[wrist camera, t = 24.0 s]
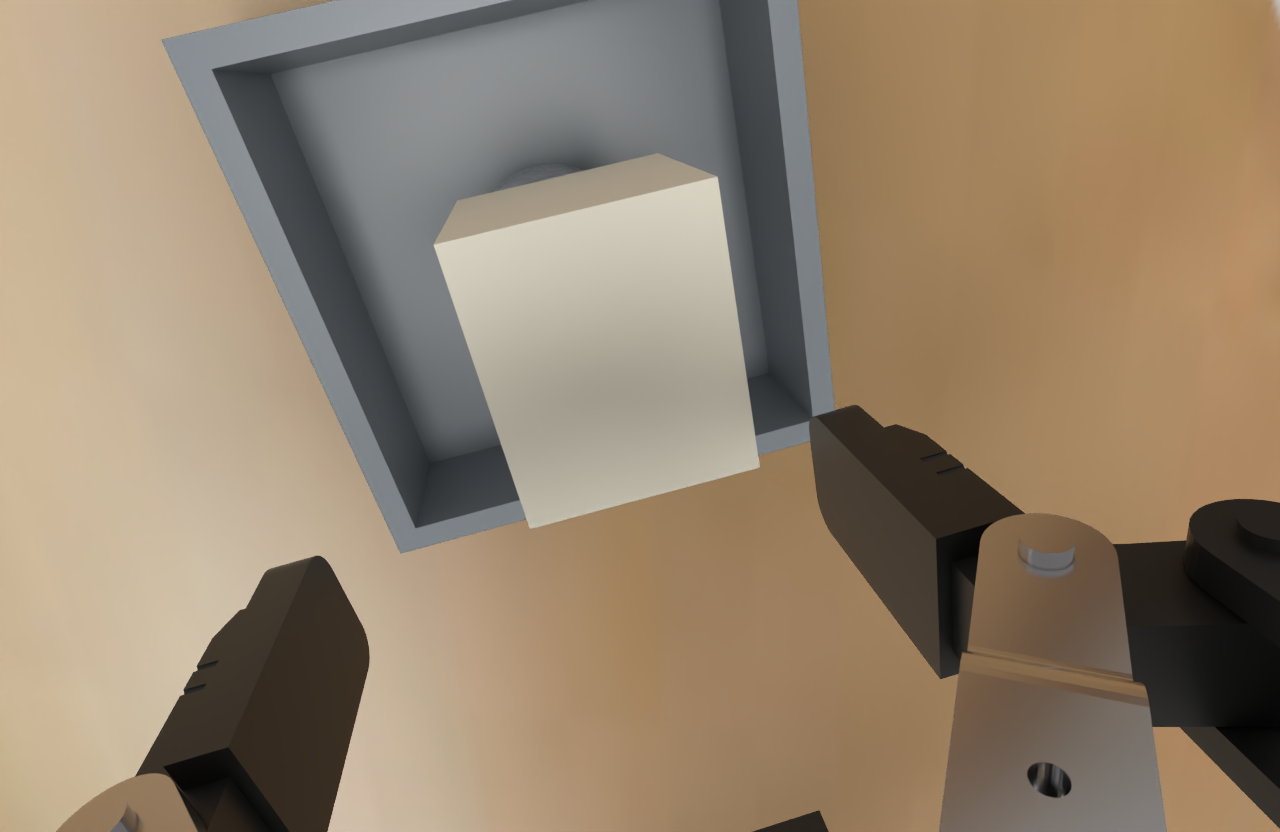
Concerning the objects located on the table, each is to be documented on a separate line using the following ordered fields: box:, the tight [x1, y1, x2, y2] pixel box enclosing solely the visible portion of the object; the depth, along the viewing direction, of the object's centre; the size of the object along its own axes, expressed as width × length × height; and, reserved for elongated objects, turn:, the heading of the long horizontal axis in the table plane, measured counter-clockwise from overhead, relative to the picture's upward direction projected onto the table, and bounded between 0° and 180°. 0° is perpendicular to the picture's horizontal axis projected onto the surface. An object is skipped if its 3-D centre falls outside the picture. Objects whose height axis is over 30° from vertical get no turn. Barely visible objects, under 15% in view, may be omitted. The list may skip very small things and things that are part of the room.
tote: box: [162, 0, 835, 554], centre depth 23 cm, size 16×16×6 cm
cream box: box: [434, 153, 760, 529], centre depth 15 cm, size 6×5×6 cm
